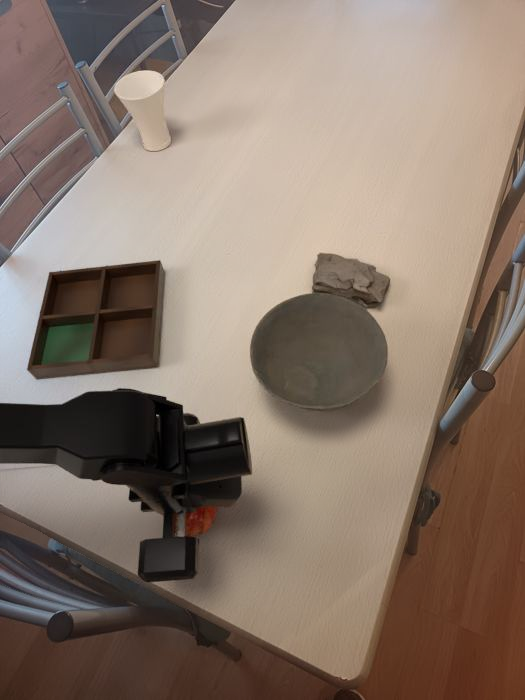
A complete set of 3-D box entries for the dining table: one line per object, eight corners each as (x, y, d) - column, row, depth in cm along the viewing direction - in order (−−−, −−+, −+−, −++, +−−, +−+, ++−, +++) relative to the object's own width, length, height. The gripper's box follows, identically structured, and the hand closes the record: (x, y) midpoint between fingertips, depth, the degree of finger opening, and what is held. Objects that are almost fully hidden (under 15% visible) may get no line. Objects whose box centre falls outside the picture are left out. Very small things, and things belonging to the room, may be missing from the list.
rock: (393, 273, 87) (396, 258, 83) (379, 314, 82) (381, 299, 79) (319, 256, 90) (319, 240, 87) (301, 294, 86) (301, 279, 83)
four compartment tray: (36, 379, 82) (26, 369, 79) (57, 283, 93) (49, 272, 90) (158, 367, 81) (153, 357, 78) (164, 271, 92) (160, 260, 89)
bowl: (233, 375, 79) (223, 341, 70) (323, 311, 84) (323, 272, 75) (310, 464, 70) (309, 436, 62) (405, 386, 75) (417, 351, 67)
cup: (166, 160, 109) (149, 102, 98) (126, 153, 112) (104, 95, 101) (187, 132, 114) (173, 73, 103) (148, 125, 117) (130, 67, 106)
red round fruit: (212, 551, 67) (238, 487, 65) (176, 570, 61) (204, 500, 59) (174, 519, 71) (198, 458, 69) (136, 534, 64) (162, 467, 63)
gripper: (233, 561, 46) (252, 584, 59) (229, 385, 56) (246, 437, 69) (116, 571, 47) (160, 591, 60) (132, 394, 57) (167, 444, 70)
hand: (187, 510), depth 65 cm, fingers open, 9 cm apart
